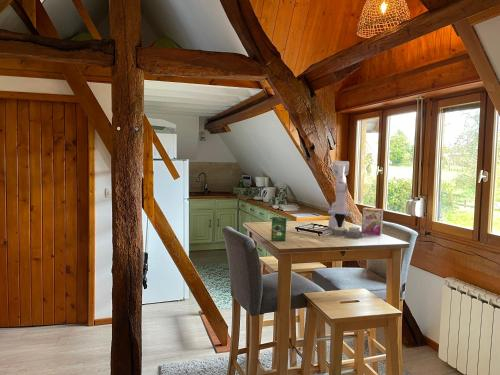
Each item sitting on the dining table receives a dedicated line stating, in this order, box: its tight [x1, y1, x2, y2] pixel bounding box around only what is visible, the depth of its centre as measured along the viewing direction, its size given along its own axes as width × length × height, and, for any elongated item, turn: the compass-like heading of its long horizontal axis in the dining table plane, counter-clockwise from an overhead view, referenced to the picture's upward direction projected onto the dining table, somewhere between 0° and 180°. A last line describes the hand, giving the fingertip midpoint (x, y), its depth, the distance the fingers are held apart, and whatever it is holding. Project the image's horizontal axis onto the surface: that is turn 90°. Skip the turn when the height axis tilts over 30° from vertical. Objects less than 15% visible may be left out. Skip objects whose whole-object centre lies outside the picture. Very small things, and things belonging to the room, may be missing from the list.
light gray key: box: [348, 226, 361, 233], centre depth 223 cm, size 4×4×3 cm
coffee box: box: [270, 216, 287, 242], centre depth 217 cm, size 8×3×13 cm, turn 88°
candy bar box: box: [361, 207, 384, 236], centre depth 233 cm, size 11×5×16 cm, turn 59°
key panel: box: [329, 228, 365, 240], centre depth 226 cm, size 18×9×4 cm, turn 51°
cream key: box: [334, 226, 346, 231], centre depth 229 cm, size 4×4×3 cm
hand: (339, 227), depth 229 cm, fingers closed, pressing on cream key
